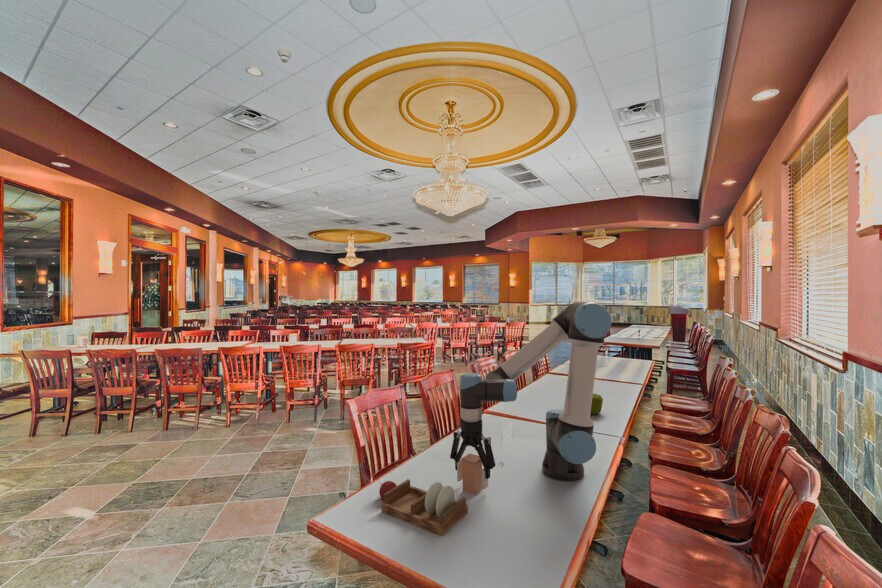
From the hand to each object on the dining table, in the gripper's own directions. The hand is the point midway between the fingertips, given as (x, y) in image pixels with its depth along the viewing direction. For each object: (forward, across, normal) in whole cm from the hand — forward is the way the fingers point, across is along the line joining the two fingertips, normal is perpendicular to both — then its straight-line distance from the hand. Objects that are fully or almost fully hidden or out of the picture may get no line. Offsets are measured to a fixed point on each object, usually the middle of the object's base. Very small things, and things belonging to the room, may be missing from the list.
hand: (472, 483), depth 134 cm
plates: (+1, -1, +21) cm, 21 cm away
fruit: (+2, +22, +20) cm, 30 cm away
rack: (+2, +6, +20) cm, 21 cm away
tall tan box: (+2, 0, 0) cm, 2 cm away
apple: (+2, -13, -111) cm, 112 cm away
